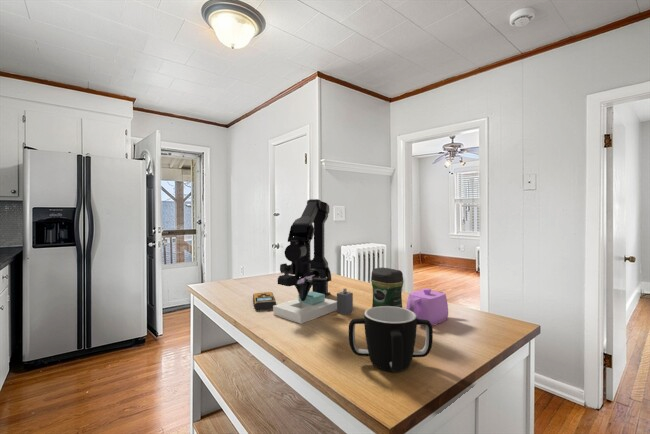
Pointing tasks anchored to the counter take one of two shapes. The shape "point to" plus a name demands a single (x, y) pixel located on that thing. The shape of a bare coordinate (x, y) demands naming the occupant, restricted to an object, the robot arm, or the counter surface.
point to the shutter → (313, 298)
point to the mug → (390, 337)
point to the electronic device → (263, 301)
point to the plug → (344, 302)
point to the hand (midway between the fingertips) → (302, 300)
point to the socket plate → (303, 310)
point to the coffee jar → (387, 287)
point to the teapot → (428, 305)
